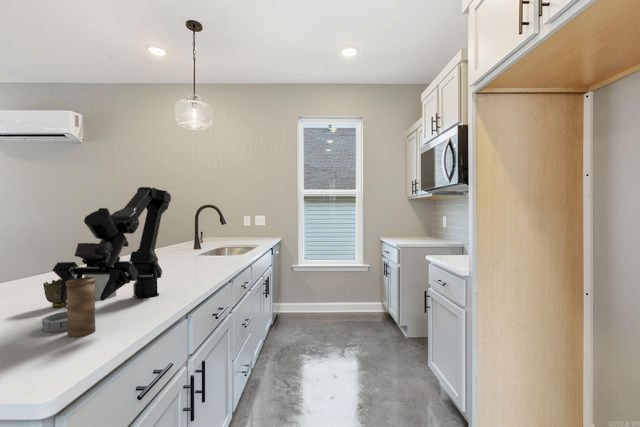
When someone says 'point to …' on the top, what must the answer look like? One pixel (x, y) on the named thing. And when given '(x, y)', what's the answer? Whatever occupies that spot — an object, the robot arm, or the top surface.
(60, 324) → the ring
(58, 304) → the ornate scalloped vase
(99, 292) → the small box
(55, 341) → the top surface
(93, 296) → the brown cylinder
